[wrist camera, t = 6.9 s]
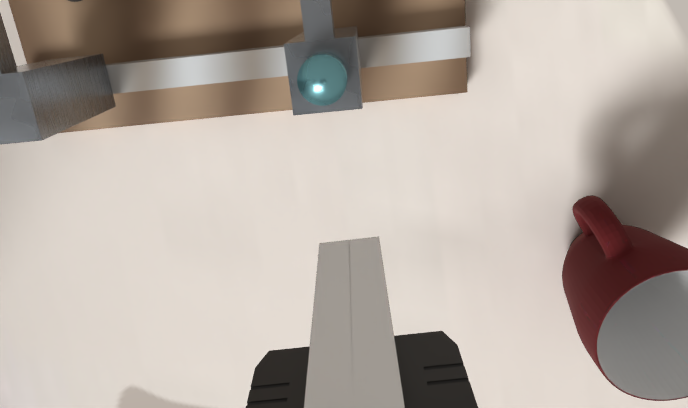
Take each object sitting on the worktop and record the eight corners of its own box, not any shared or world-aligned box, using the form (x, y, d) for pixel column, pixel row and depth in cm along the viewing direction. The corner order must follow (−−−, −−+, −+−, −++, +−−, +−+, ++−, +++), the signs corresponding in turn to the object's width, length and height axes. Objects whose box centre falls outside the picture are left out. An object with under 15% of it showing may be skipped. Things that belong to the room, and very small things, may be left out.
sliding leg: (309, 86, 32) (290, 121, 23) (290, -64, 29) (260, -90, 20) (362, 81, 31) (362, 114, 23) (347, -72, 29) (342, -100, 20)
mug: (493, 217, 37) (539, 292, 28) (601, 144, 35) (689, 198, 26) (575, 324, 40) (641, 425, 31) (679, 262, 38) (783, 350, 29)
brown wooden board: (57, 129, 36) (35, 139, 33) (-2, -77, 32) (-32, -83, 29) (463, 89, 34) (471, 96, 32) (457, -134, 30) (465, -145, 28)
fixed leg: (66, 111, 32) (-22, 146, 25) (26, -33, 30) (-87, -42, 22) (116, 106, 32) (42, 140, 25) (79, -40, 30) (-16, -51, 22)
